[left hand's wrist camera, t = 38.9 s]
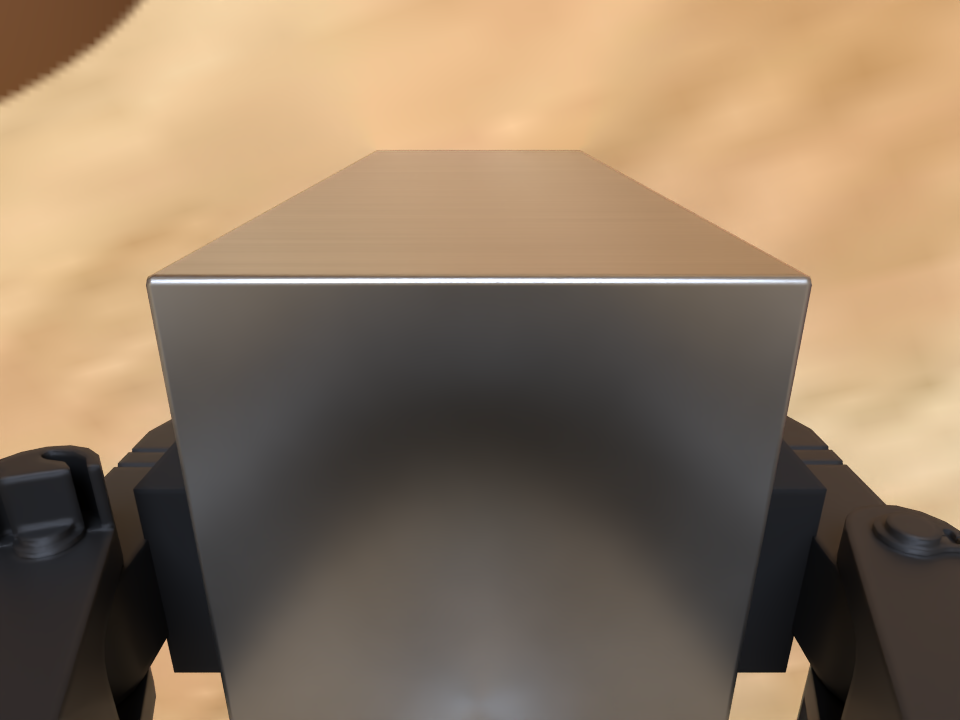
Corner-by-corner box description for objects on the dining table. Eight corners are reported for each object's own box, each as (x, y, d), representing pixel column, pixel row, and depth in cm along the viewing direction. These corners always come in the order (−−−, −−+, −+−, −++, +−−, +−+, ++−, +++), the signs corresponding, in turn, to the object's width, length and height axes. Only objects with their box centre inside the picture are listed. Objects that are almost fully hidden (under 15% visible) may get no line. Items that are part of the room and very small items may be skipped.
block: (374, 149, 16) (141, 276, 5) (582, 150, 16) (818, 276, 5) (392, 460, 19) (273, 963, 8) (565, 460, 19) (684, 961, 8)
